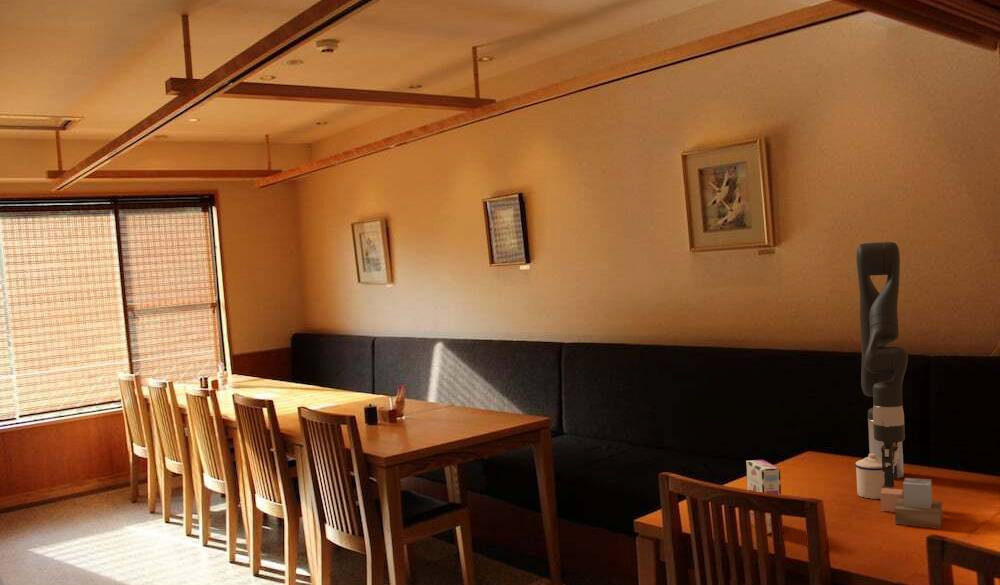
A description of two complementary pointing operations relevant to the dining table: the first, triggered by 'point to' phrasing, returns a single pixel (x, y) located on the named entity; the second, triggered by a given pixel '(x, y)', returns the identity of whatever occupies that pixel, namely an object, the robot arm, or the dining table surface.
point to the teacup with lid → (870, 477)
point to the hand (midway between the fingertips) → (891, 483)
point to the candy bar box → (763, 481)
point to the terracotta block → (890, 498)
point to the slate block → (917, 493)
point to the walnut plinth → (919, 515)
